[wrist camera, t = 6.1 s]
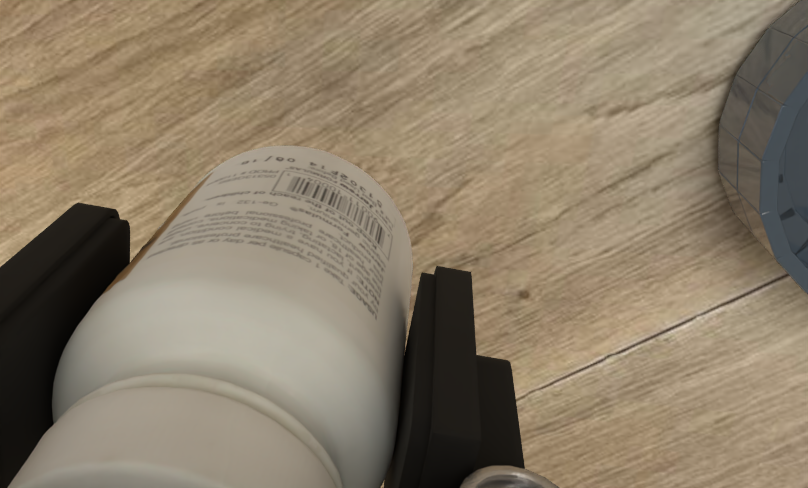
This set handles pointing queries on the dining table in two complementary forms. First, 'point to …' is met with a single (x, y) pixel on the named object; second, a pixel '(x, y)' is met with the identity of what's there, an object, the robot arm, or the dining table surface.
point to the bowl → (771, 142)
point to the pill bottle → (243, 340)
